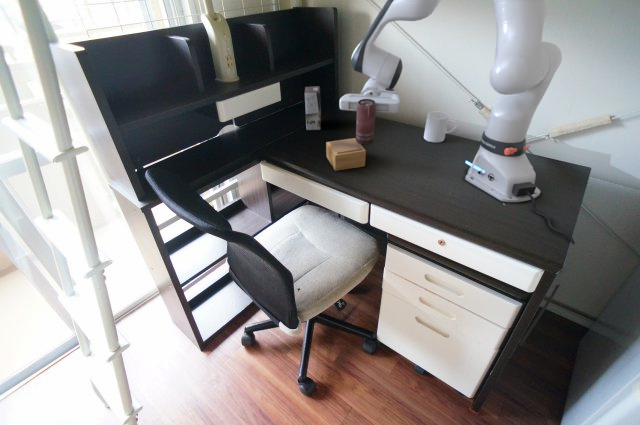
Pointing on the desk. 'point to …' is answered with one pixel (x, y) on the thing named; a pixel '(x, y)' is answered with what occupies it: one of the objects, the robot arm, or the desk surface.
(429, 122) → the mug
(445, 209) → the desk surface
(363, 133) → the can
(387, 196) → the desk surface
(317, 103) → the coffee box
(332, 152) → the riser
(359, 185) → the desk surface
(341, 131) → the desk surface
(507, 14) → the robot arm
